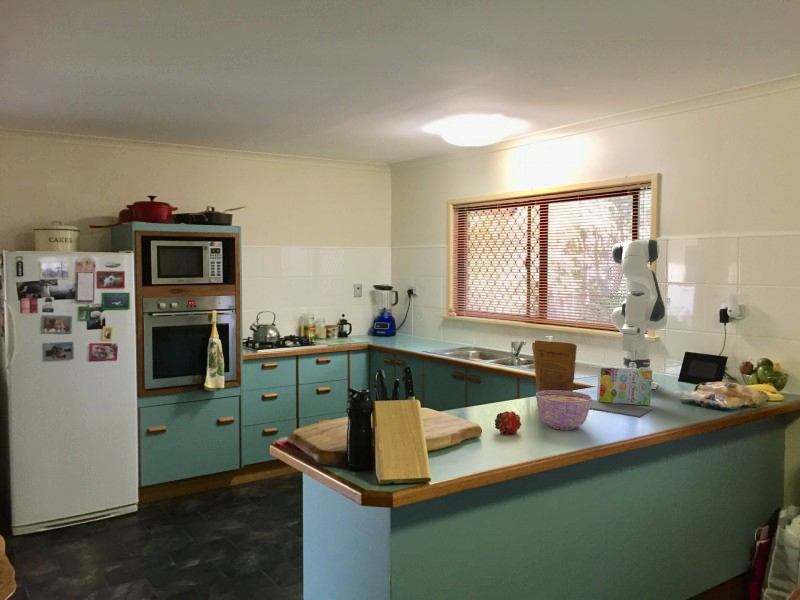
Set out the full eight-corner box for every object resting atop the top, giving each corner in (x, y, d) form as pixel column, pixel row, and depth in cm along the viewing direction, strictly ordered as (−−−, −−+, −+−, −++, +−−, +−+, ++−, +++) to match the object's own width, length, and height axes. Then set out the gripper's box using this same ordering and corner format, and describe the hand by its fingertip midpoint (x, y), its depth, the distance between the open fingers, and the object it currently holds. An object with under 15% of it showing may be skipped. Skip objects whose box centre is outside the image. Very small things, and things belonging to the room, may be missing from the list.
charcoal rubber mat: (590, 400, 289) (590, 399, 289) (651, 410, 273) (651, 408, 273) (576, 406, 276) (576, 405, 276) (639, 417, 260) (640, 415, 260)
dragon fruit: (494, 440, 227) (515, 439, 235) (512, 430, 222) (533, 429, 230) (485, 417, 231) (506, 417, 239) (503, 406, 226) (523, 407, 234)
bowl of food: (603, 430, 238) (604, 398, 237) (561, 437, 228) (562, 403, 227) (563, 418, 255) (564, 388, 254) (522, 423, 245) (524, 392, 244)
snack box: (646, 403, 286) (649, 368, 286) (650, 406, 280) (652, 370, 280) (596, 399, 288) (598, 365, 288) (598, 402, 282) (601, 366, 282)
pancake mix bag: (569, 415, 260) (572, 344, 258) (528, 406, 273) (531, 339, 272) (578, 413, 265) (581, 343, 263) (537, 404, 278) (540, 337, 276)
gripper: (634, 326, 301) (633, 357, 302) (620, 329, 285) (618, 361, 285) (649, 327, 297) (647, 358, 298) (635, 330, 281) (633, 362, 281)
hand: (633, 360), depth 291 cm, fingers closed
